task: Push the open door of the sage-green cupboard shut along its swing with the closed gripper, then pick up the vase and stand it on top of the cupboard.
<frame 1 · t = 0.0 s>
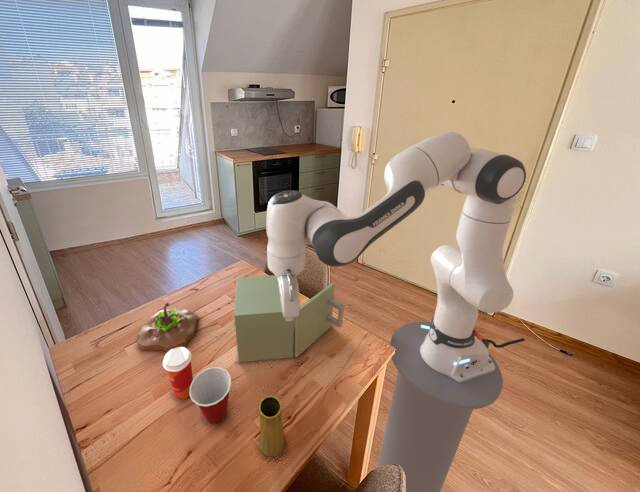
hand: (286, 306, 74), 31 cm above the table, tool pointing down, fingers open, 8 cm apart
paper cup: (183, 390, 87), on the table
vase: (271, 443, 74), on the table
cupboard door: (321, 323, 98), point 10 cm above the table, hinge at 50.0°
cupboard: (264, 337, 105), on the table
plastic cup: (215, 414, 81), on the table
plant: (170, 330, 109), on the table
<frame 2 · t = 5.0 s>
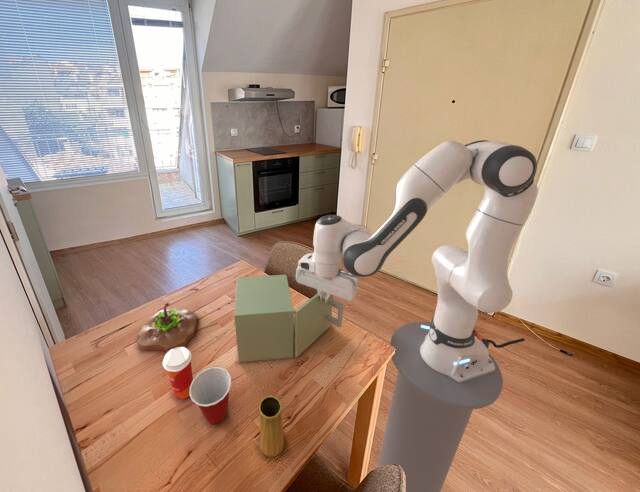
hand: (324, 300, 97), 17 cm above the table, tool pointing down, fingers closed
cupboard door: (321, 323, 98), point 10 cm above the table, hinge at 49.1°, touching gripper
everything else where it was.
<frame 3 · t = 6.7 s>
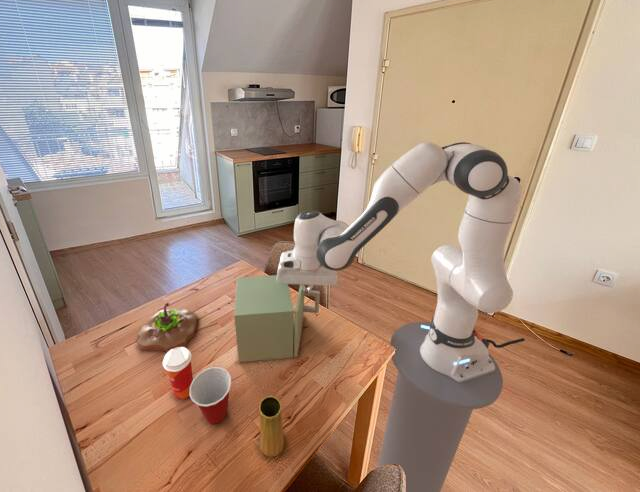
hand: (306, 293, 100), 17 cm above the table, tool pointing down, fingers closed
cupboard door: (308, 314, 101), point 10 cm above the table, hinge at 16.4°, touching gripper
everything else where it was.
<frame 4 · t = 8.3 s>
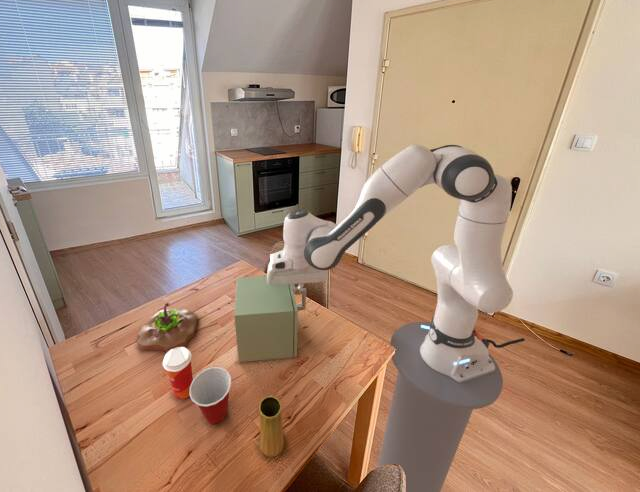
hand: (296, 292, 101), 17 cm above the table, tool pointing down, fingers closed
cupboard door: (300, 313, 102), point 10 cm above the table, hinge at 0.2°, touching gripper
everything else where it was.
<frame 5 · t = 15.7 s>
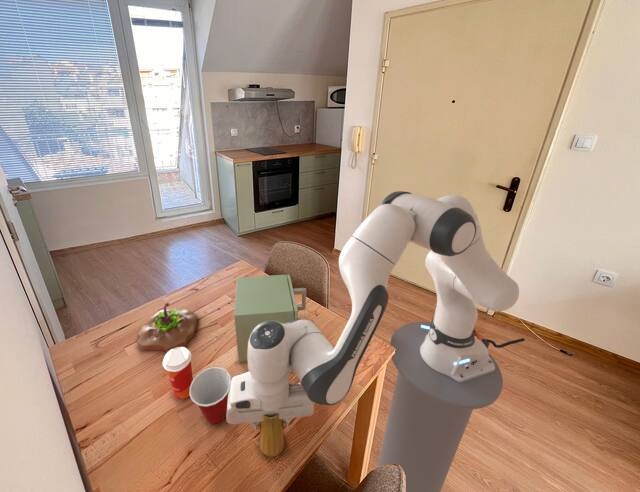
hand: (271, 425, 71), 7 cm above the table, tool pointing down, fingers closed on vase, 5 cm apart
vase: (271, 443, 74), on the table, touching gripper
cupboard door: (300, 313, 102), point 10 cm above the table, hinge at 0.2°
everything else where it was.
when the fingers open (27 cm above the table, at t = 23.9 s): vase stays where it is, resting on cupboard.
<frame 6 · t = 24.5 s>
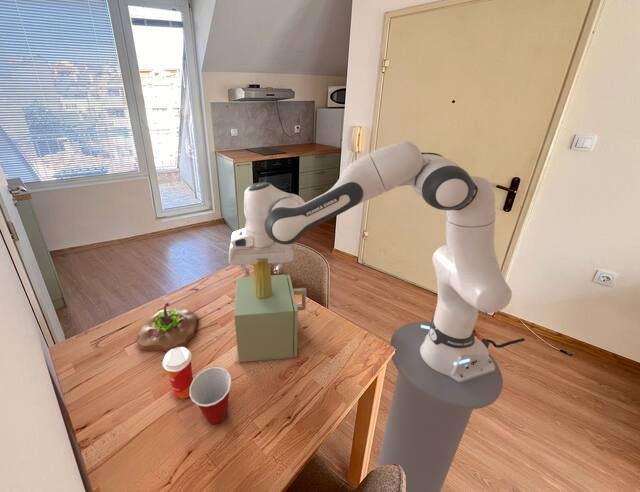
hand: (261, 273, 94), 27 cm above the table, tool pointing down, fingers open, 8 cm apart
vase: (263, 293, 97), point 19 cm above the table, touching cupboard
everything else where it was.
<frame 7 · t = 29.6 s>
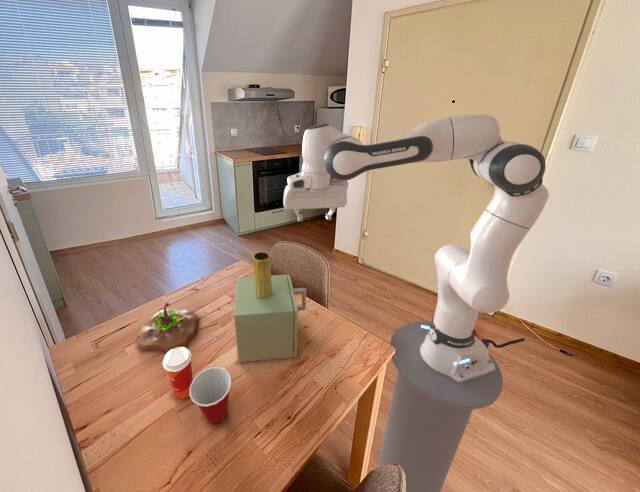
hand: (314, 220, 96), 42 cm above the table, tool pointing down, fingers open, 8 cm apart
nothing on the table moved.
at the end: cupboard door at +0° (first picture: +50°); vase inside the target area on the cupboard (0.1 cm from its centre), point 19.4 cm above the cupboard's base; vase tilted 0° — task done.
